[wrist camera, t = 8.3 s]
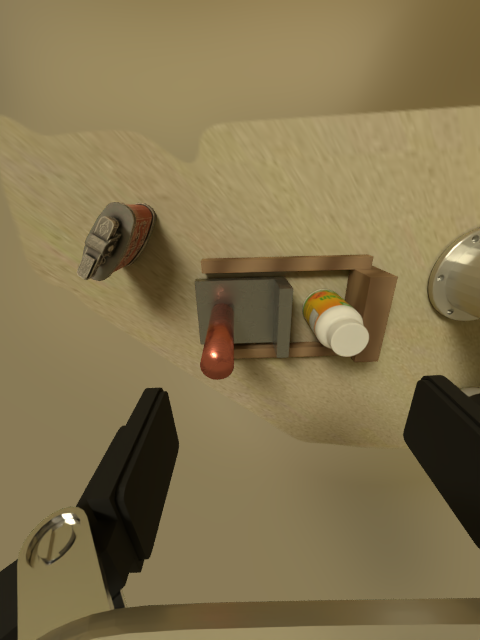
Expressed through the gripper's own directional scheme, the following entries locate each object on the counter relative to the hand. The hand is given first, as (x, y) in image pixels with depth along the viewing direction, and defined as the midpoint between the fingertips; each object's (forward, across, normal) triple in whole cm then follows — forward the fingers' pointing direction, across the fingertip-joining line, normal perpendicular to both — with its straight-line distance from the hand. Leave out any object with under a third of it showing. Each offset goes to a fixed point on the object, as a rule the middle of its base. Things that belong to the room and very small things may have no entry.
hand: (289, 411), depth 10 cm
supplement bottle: (+26, -9, +6) cm, 28 cm away
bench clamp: (+25, -4, +6) cm, 26 cm away
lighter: (+25, +15, -5) cm, 29 cm away
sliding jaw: (+25, +2, +6) cm, 26 cm away
